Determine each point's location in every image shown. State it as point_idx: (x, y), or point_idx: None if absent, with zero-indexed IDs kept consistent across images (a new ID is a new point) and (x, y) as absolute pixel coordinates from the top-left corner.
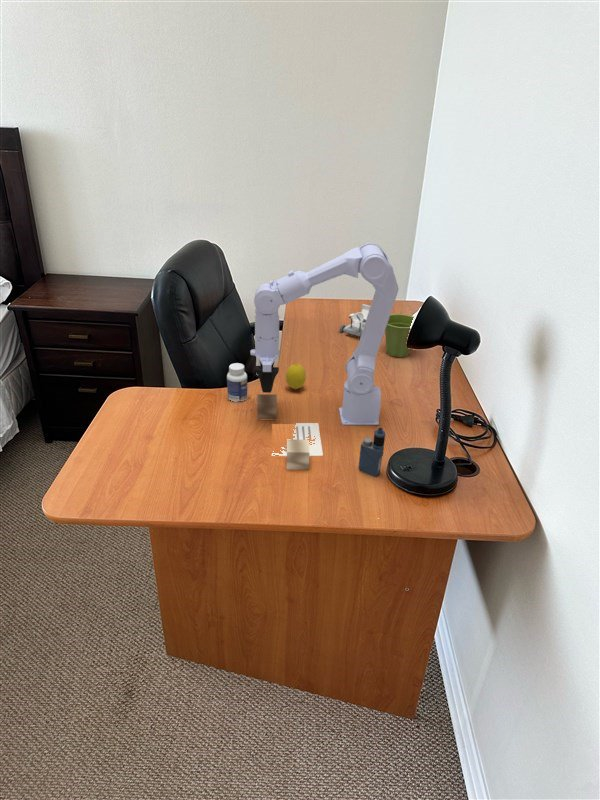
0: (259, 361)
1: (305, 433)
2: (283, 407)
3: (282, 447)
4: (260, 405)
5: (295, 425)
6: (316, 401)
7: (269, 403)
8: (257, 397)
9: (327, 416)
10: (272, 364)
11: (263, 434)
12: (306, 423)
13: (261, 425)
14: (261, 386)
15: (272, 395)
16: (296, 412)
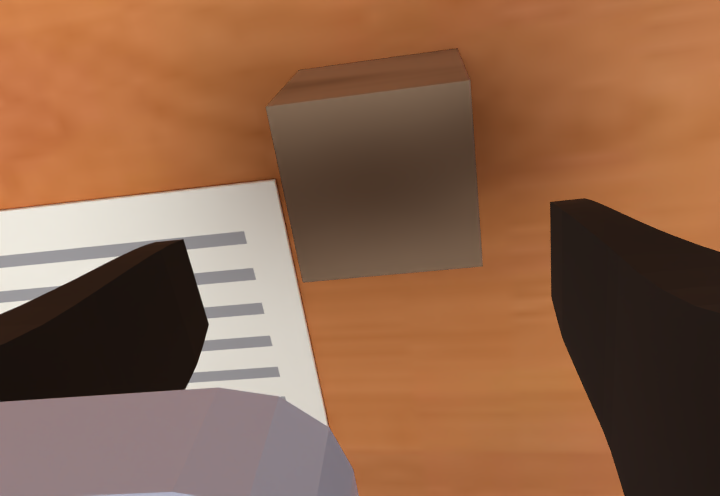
0: (653, 282)
1: (205, 386)
2: (517, 243)
3: (19, 275)
4: (274, 135)
5: (279, 332)
6: (603, 435)
7: (303, 219)
8: (402, 90)
9: (420, 484)
10: (618, 453)
11: (129, 141)
12: (316, 388)
13: (240, 112)
14: (91, 273)
15: (460, 230)
16: (452, 328)
